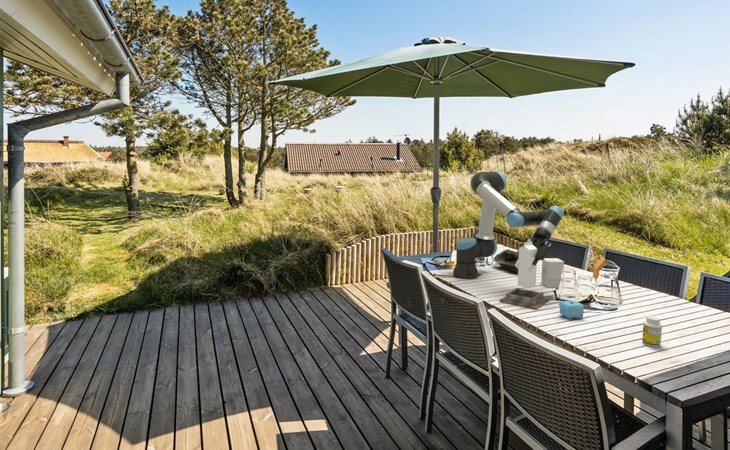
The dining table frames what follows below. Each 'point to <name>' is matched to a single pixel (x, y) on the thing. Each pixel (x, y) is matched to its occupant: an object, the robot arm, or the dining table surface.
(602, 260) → the orange juice
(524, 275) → the milk
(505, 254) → the hollow geode rock
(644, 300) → the dining table surface
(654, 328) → the supplement bottle
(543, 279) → the supplement box
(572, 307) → the light blue block
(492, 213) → the robot arm
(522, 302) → the holder
